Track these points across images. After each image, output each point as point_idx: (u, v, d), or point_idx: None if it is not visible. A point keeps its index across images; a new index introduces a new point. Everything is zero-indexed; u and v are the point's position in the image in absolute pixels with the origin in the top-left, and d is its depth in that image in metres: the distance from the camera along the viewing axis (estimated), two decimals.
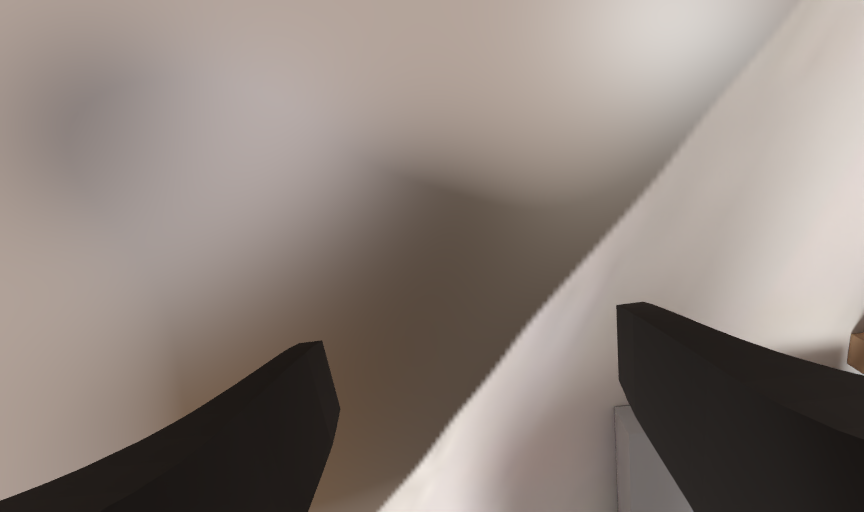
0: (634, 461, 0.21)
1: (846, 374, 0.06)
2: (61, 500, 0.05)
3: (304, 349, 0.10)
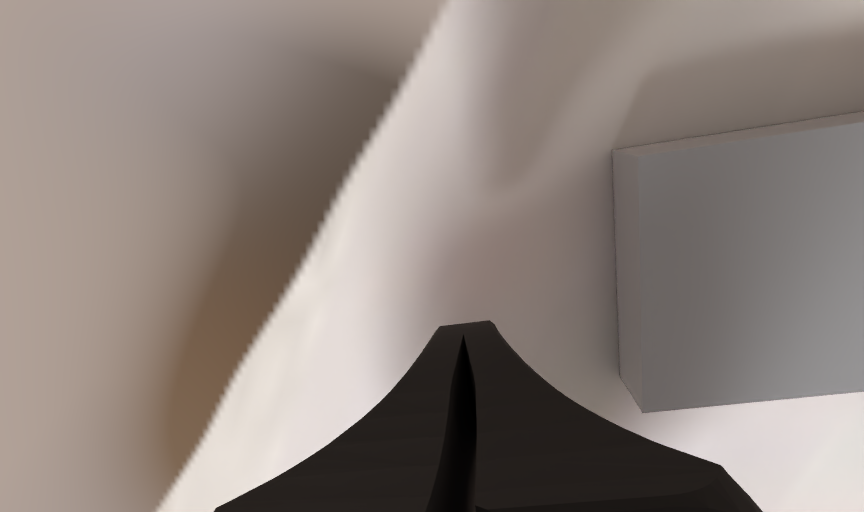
0: (648, 216, 0.12)
1: (567, 402, 0.06)
2: (357, 473, 0.05)
3: (457, 331, 0.10)
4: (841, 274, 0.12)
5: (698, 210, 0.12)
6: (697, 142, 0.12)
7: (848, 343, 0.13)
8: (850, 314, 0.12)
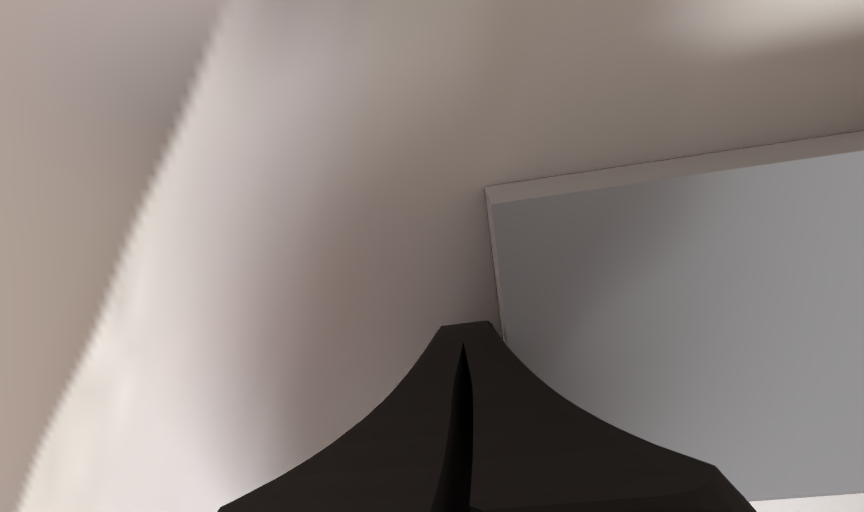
0: (512, 281, 0.09)
1: (564, 402, 0.06)
2: (360, 473, 0.05)
3: (459, 331, 0.10)
4: (768, 357, 0.09)
5: (577, 274, 0.09)
6: (579, 182, 0.09)
7: (782, 440, 0.10)
8: (783, 405, 0.10)
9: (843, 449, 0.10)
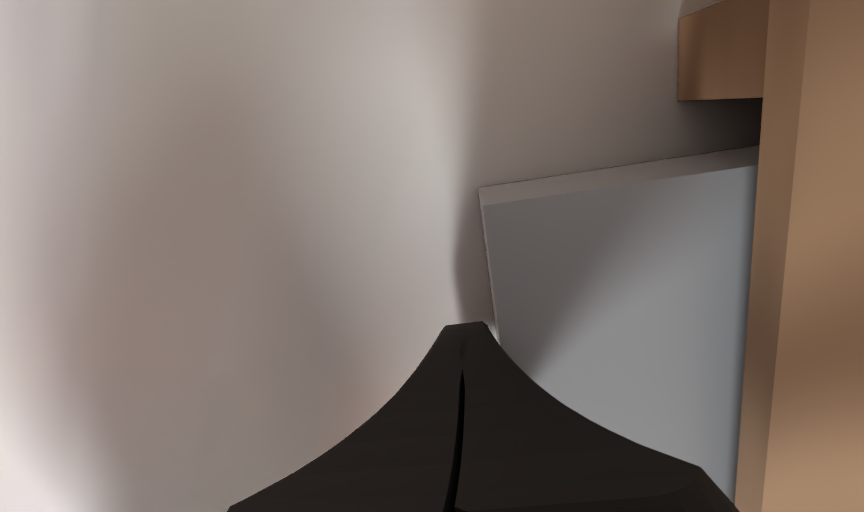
0: (504, 283, 0.09)
1: (555, 403, 0.06)
2: (370, 471, 0.05)
3: (464, 330, 0.10)
4: None
5: (569, 275, 0.09)
6: (571, 183, 0.09)
7: None
8: None
9: None
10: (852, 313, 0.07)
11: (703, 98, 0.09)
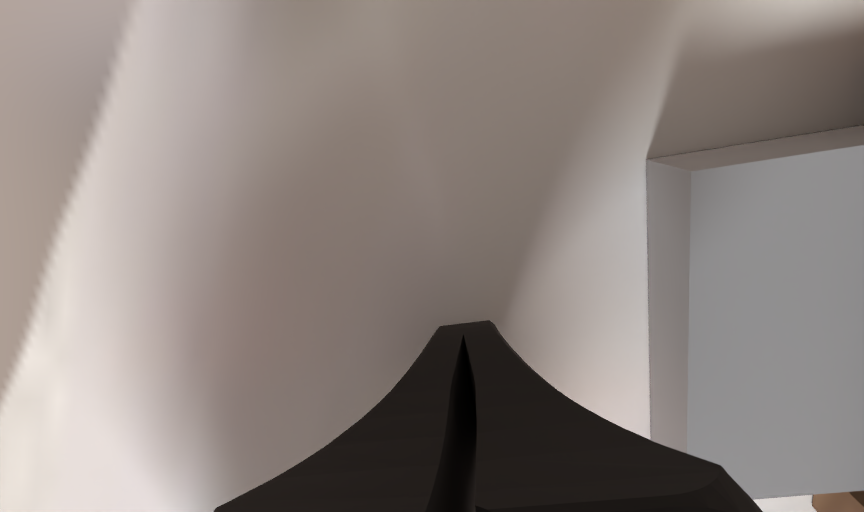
0: (702, 254, 0.09)
1: (567, 402, 0.06)
2: (357, 473, 0.05)
3: (457, 331, 0.10)
4: None
5: (773, 245, 0.08)
6: (770, 150, 0.09)
7: None
8: None
9: None
10: None
11: None
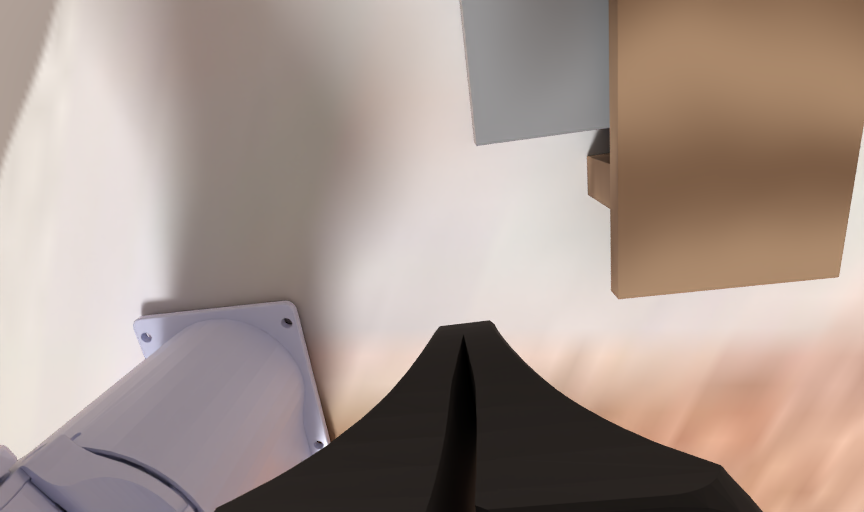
0: None
1: (567, 402, 0.06)
2: (357, 474, 0.05)
3: (457, 331, 0.10)
4: None
5: None
6: None
7: None
8: None
9: None
10: None
11: None
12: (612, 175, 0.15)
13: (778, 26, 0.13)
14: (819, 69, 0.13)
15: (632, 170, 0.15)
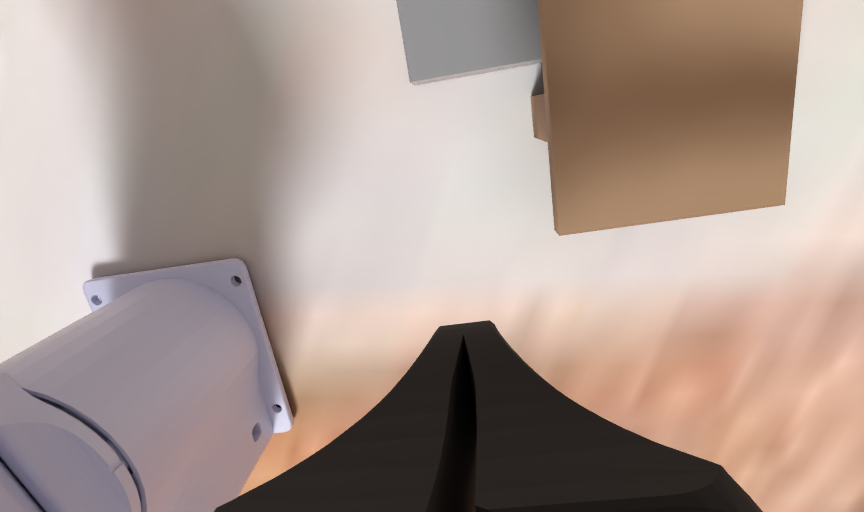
0: None
1: (567, 402, 0.06)
2: (357, 473, 0.05)
3: (457, 331, 0.10)
4: None
5: None
6: None
7: None
8: None
9: None
10: None
11: None
12: (546, 105, 0.15)
13: None
14: None
15: (564, 95, 0.14)
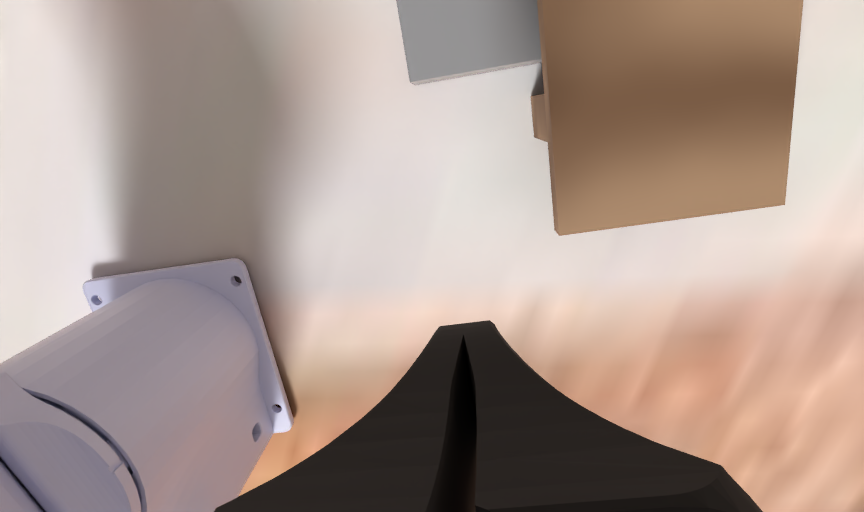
0: None
1: (567, 402, 0.06)
2: (357, 473, 0.05)
3: (457, 331, 0.10)
4: None
5: None
6: None
7: None
8: None
9: None
10: None
11: None
12: (546, 105, 0.15)
13: None
14: None
15: (564, 95, 0.14)
